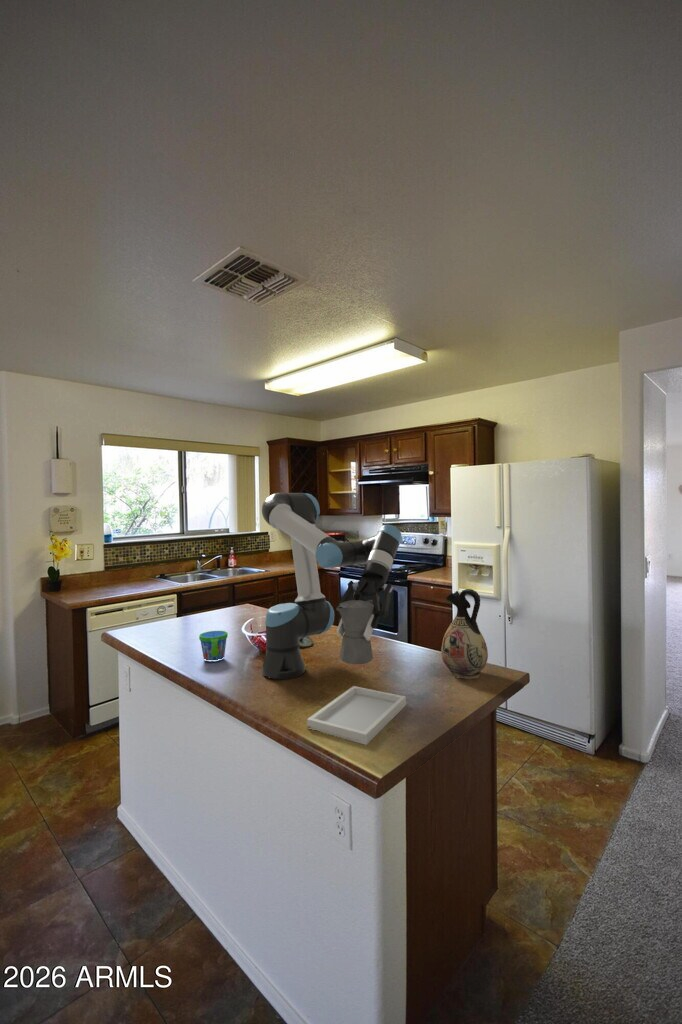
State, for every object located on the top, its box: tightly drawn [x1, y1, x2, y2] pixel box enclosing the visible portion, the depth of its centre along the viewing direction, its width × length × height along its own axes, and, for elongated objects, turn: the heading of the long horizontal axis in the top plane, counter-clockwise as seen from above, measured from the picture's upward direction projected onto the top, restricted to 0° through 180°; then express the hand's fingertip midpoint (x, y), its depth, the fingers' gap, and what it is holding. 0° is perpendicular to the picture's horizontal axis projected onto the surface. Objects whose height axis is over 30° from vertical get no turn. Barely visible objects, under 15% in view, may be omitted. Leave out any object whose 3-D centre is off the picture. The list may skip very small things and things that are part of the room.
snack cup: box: [198, 630, 228, 660], centre depth 177 cm, size 16×10×10 cm
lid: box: [299, 636, 314, 649], centre depth 194 cm, size 11×10×5 cm
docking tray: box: [306, 685, 407, 746], centre depth 126 cm, size 17×25×2 cm
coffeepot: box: [336, 592, 382, 665], centre depth 126 cm, size 15×9×18 cm, turn 125°
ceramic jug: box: [440, 588, 489, 680], centre depth 155 cm, size 17×15×30 cm
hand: (352, 635), depth 123 cm, fingers closed on coffeepot, 8 cm apart
